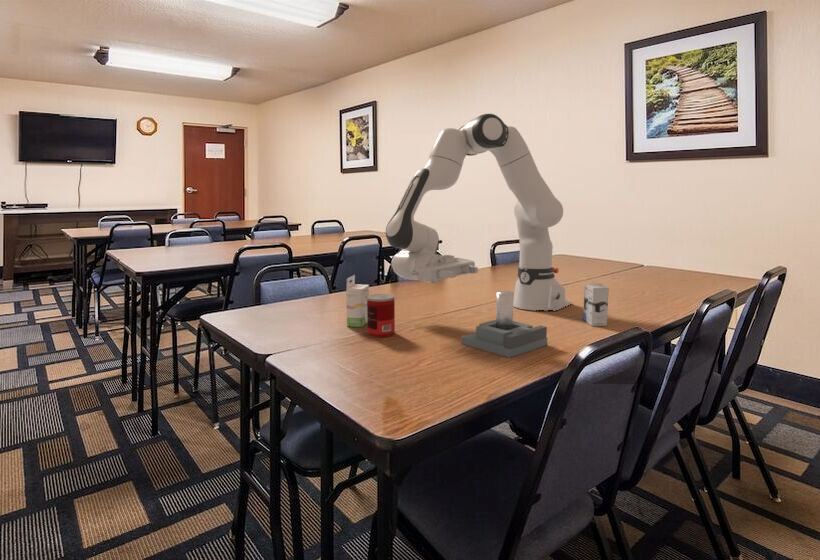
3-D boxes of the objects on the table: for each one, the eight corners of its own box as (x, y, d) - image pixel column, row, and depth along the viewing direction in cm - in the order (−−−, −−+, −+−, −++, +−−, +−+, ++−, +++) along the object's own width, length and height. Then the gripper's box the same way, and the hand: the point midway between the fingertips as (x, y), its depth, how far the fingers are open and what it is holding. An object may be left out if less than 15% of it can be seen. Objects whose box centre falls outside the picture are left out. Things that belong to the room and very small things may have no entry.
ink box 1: (362, 327, 154) (361, 279, 151) (346, 326, 155) (345, 278, 152) (370, 320, 162) (369, 274, 160) (355, 320, 163) (354, 274, 161)
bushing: (502, 333, 139) (503, 290, 137) (515, 337, 135) (517, 292, 133) (492, 336, 136) (493, 292, 134) (505, 340, 133) (506, 294, 131)
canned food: (398, 331, 149) (398, 294, 147) (388, 338, 142) (388, 300, 140) (374, 329, 152) (373, 293, 150) (363, 336, 144) (362, 298, 142)
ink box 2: (582, 319, 162) (584, 283, 160) (597, 319, 162) (600, 283, 160) (590, 326, 154) (592, 287, 152) (607, 326, 154) (609, 287, 152)
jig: (499, 332, 147) (500, 315, 146) (547, 345, 135) (547, 326, 134) (461, 343, 137) (461, 325, 136) (509, 357, 125) (509, 337, 124)
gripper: (406, 262, 150) (439, 266, 139) (454, 254, 163) (488, 257, 153) (406, 283, 151) (440, 288, 140) (454, 274, 164) (488, 278, 154)
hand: (465, 272), depth 147 cm, fingers open, 8 cm apart
